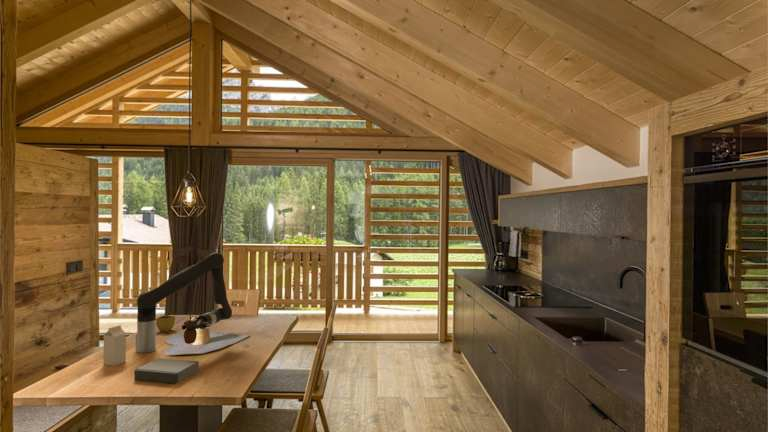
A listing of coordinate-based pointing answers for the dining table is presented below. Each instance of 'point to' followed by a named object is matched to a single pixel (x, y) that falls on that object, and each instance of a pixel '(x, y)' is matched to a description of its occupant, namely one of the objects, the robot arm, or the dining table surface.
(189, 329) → the wooden figurine
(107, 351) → the milk carton
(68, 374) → the dining table surface
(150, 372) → the block
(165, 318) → the flower pot
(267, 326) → the dining table surface
